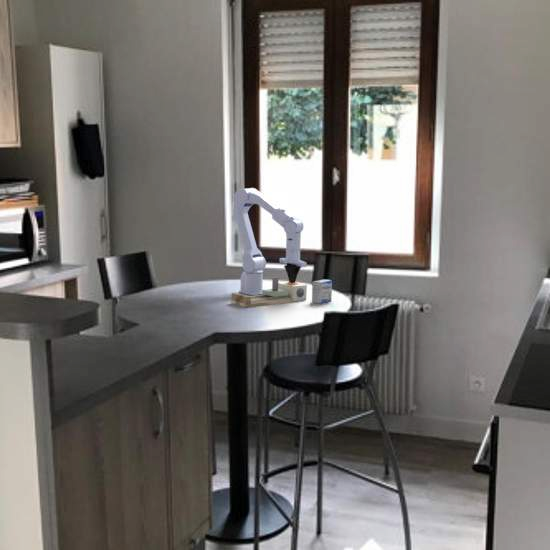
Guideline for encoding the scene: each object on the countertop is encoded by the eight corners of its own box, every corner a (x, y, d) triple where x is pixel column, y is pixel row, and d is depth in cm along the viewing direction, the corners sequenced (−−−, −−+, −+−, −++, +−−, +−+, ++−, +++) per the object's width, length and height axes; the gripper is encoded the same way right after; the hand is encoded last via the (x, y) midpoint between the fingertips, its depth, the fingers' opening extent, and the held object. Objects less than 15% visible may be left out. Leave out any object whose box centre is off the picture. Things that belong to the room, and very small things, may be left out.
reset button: (284, 296, 305) (285, 282, 304) (292, 295, 307) (292, 281, 306) (291, 297, 302) (291, 283, 301) (298, 296, 304) (299, 282, 303)
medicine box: (320, 304, 294) (321, 282, 293) (311, 302, 297) (312, 281, 296) (331, 301, 301) (332, 280, 299) (322, 299, 303) (323, 278, 302)
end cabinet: (277, 297, 306) (277, 282, 305) (290, 295, 311) (290, 281, 310) (293, 301, 298) (294, 286, 297) (306, 299, 303) (307, 285, 302)
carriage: (262, 293, 299) (262, 277, 298) (275, 292, 304) (275, 276, 303) (274, 297, 293) (275, 280, 292) (288, 295, 298) (288, 278, 297)
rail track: (231, 303, 292) (232, 293, 291) (277, 297, 306) (277, 287, 306) (247, 307, 284) (247, 297, 283) (293, 301, 299) (293, 291, 298)
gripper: (274, 248, 304) (273, 280, 306) (297, 252, 293) (296, 286, 295) (287, 247, 309) (286, 279, 311) (310, 250, 298) (309, 284, 300)
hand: (292, 282), depth 303 cm, fingers closed, pressing on reset button
